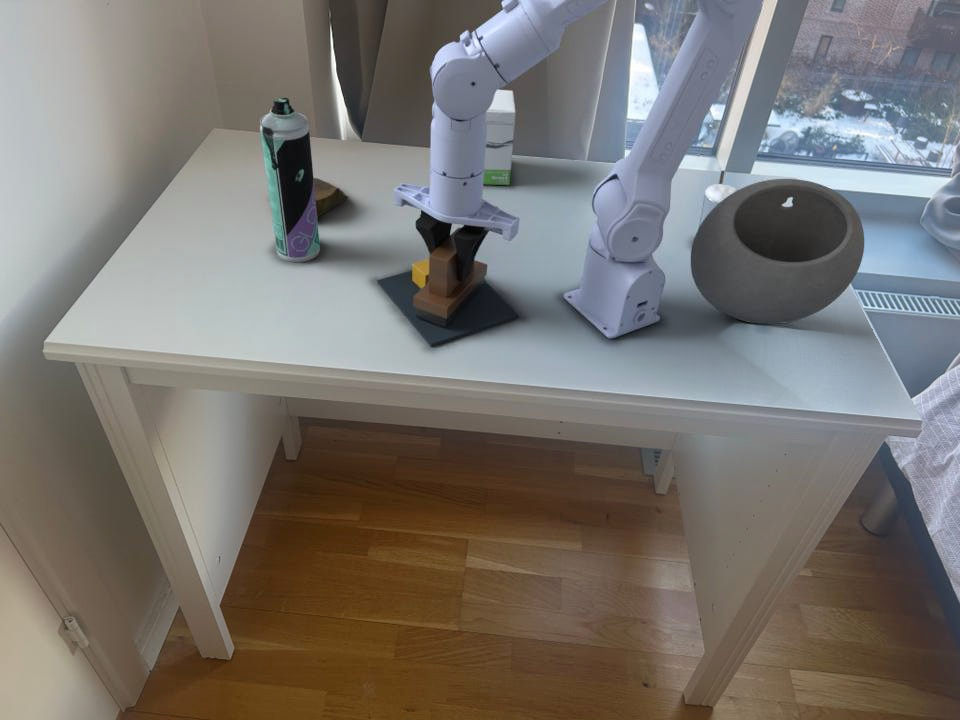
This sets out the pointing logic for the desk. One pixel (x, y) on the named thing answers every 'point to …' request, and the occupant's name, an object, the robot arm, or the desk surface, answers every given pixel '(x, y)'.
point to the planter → (777, 251)
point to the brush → (447, 285)
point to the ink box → (499, 138)
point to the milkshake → (715, 196)
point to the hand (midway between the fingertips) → (452, 273)
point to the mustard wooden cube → (421, 272)
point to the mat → (472, 318)
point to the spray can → (290, 182)
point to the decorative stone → (327, 196)
